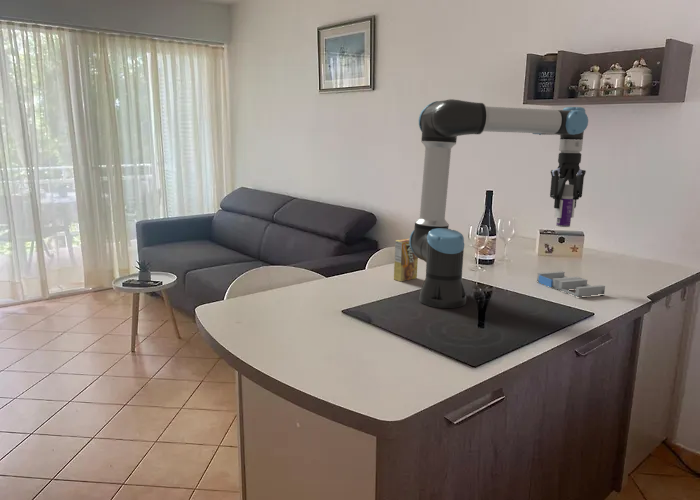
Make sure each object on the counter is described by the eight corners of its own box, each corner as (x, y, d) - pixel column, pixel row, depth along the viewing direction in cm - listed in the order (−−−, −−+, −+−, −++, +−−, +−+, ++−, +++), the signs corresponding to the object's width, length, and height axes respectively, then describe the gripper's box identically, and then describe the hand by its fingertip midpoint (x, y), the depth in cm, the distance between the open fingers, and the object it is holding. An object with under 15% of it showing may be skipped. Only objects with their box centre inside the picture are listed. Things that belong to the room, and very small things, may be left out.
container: (567, 227, 191) (572, 185, 188) (554, 226, 194) (558, 184, 191) (571, 225, 195) (575, 184, 192) (558, 224, 198) (562, 184, 195)
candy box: (409, 276, 208) (411, 237, 205) (417, 278, 205) (419, 239, 202) (393, 279, 202) (394, 240, 199) (401, 282, 199) (402, 241, 196)
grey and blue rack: (576, 298, 181) (577, 288, 181) (535, 282, 202) (536, 273, 201) (604, 295, 185) (605, 286, 184) (561, 280, 205) (561, 271, 205)
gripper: (556, 152, 183) (550, 219, 188) (598, 152, 188) (591, 218, 193) (542, 151, 190) (536, 216, 195) (583, 152, 195) (576, 215, 200)
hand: (563, 217), depth 194 cm, fingers closed on container, 5 cm apart
